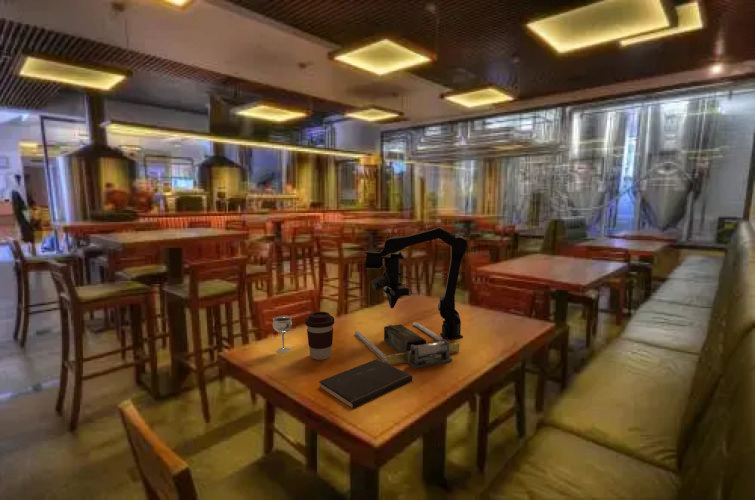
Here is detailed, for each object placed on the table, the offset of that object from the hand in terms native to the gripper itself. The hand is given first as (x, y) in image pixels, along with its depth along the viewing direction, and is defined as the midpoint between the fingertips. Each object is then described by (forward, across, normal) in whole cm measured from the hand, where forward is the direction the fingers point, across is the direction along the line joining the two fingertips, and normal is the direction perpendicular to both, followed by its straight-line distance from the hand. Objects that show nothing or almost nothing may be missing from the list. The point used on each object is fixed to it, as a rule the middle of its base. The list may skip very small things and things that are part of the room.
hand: (391, 308), depth 156 cm
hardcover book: (+11, +34, -25) cm, 44 cm away
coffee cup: (+11, +9, -32) cm, 35 cm away
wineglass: (+11, -1, -43) cm, 44 cm away
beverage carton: (+11, +15, -2) cm, 19 cm away
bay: (+11, +10, 0) cm, 15 cm away
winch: (+10, +29, 0) cm, 31 cm away
